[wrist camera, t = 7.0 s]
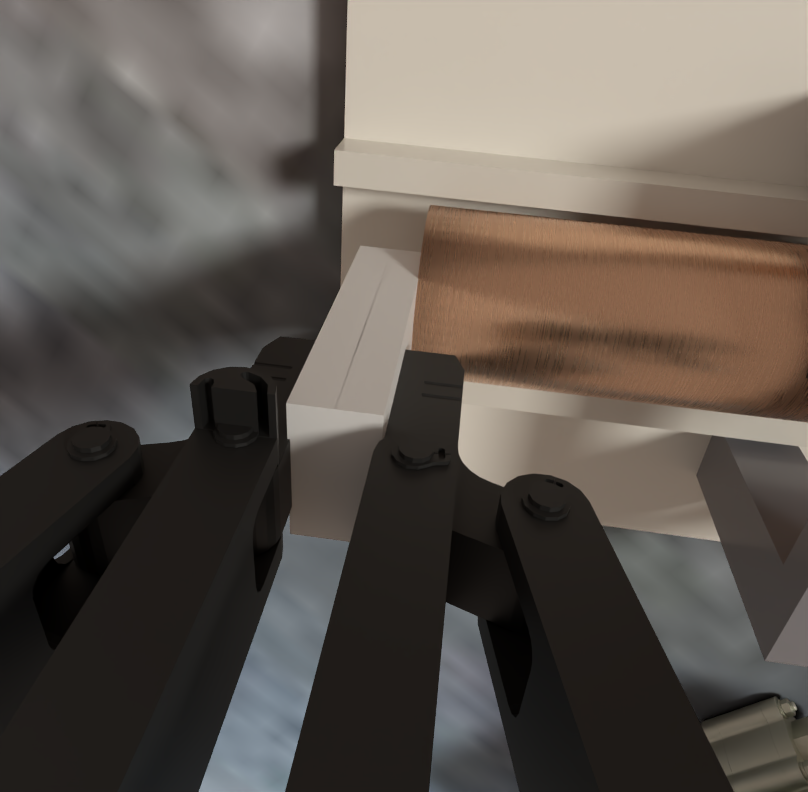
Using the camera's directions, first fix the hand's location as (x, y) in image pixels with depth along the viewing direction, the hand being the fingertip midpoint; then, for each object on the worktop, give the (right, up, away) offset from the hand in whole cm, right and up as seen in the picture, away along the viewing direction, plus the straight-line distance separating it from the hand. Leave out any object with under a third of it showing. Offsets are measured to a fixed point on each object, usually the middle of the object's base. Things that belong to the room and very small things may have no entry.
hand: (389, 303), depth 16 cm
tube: (+10, 0, +1) cm, 10 cm away
